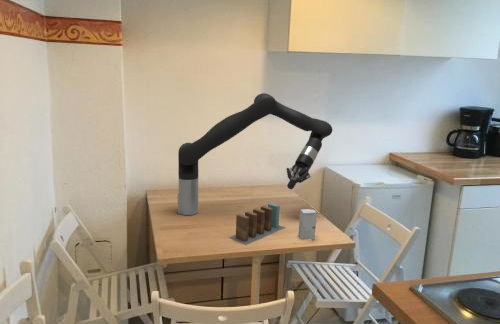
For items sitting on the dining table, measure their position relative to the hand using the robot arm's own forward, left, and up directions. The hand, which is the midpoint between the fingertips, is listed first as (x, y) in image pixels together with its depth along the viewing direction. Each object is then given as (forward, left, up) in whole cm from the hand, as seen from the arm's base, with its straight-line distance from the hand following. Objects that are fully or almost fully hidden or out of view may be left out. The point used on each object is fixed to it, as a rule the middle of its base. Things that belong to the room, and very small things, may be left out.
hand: (289, 188), depth 192 cm
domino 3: (-13, -16, -15) cm, 26 cm away
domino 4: (-10, -12, -15) cm, 22 cm away
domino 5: (-7, -8, -15) cm, 19 cm away
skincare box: (+7, -18, -16) cm, 25 cm away
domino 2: (-17, -20, -15) cm, 30 cm away
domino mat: (-13, -16, -16) cm, 26 cm away
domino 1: (-20, -24, -15) cm, 35 cm away
